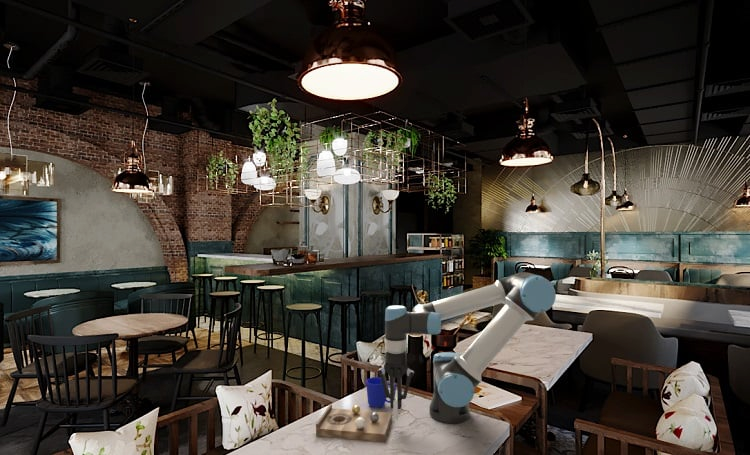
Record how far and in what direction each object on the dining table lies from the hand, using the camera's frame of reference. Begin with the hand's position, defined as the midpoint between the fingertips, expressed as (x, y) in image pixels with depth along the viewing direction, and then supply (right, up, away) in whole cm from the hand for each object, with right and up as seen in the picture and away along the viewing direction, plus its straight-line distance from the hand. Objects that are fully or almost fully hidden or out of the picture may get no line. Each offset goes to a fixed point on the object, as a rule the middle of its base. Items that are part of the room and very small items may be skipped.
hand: (396, 417), depth 141 cm
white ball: (-13, -1, -3) cm, 13 cm away
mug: (-5, -5, +20) cm, 21 cm away
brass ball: (-14, -1, +8) cm, 17 cm away
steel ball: (-8, -1, +2) cm, 8 cm away
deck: (-14, -5, +3) cm, 15 cm away
